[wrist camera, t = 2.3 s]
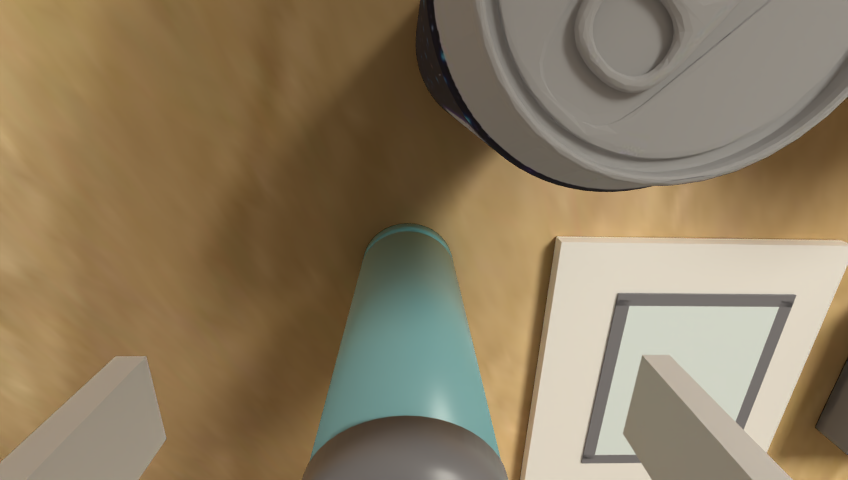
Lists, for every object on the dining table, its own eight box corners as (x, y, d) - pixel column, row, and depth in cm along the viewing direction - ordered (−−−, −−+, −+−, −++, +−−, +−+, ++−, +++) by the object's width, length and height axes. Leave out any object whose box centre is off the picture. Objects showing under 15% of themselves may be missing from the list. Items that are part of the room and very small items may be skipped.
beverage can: (599, 34, 15) (1112, -96, 4) (495, 154, 17) (667, 299, 6) (486, -85, 14) (801, -770, 3) (384, 58, 15) (315, -8, 4)
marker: (360, 221, 18) (270, 475, 6) (456, 222, 18) (537, 473, 6) (363, 305, 19) (294, 636, 8) (451, 306, 19) (511, 630, 8)
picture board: (556, 236, 18) (562, 242, 17) (839, 240, 19) (858, 246, 18) (519, 483, 23) (522, 496, 23) (740, 480, 24) (751, 493, 23)
